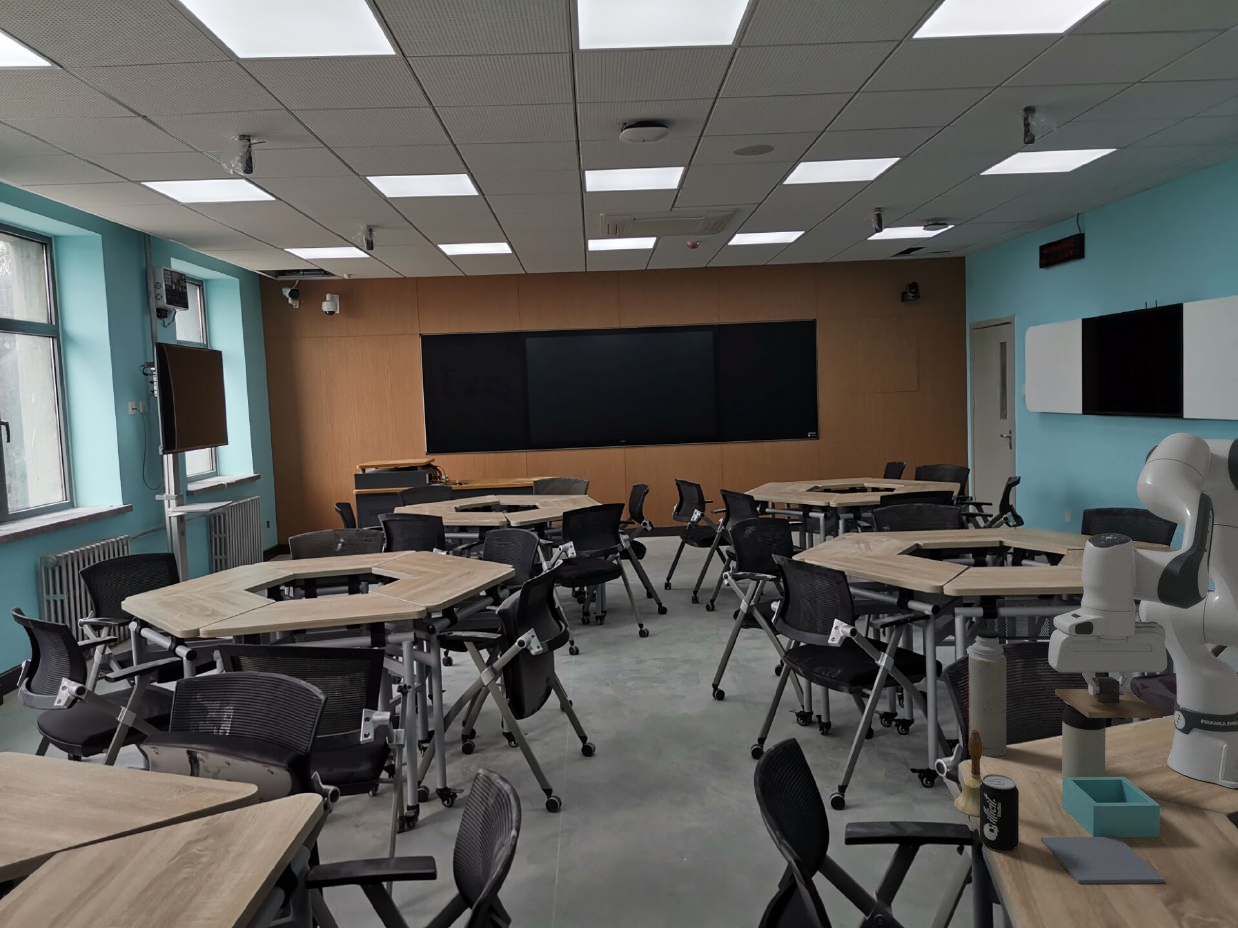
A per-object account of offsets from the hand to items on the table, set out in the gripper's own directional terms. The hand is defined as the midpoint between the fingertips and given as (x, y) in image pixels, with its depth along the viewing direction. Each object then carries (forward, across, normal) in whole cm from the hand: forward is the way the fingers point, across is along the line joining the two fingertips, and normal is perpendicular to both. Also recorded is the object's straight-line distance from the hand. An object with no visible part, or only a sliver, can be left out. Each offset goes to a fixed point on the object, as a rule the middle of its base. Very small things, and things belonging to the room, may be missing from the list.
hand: (1106, 694), depth 159 cm
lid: (+2, 0, 0) cm, 2 cm away
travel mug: (+26, -5, -19) cm, 33 cm away
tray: (+26, +6, +11) cm, 29 cm away
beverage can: (+27, +22, +5) cm, 35 cm away
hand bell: (+26, +20, -9) cm, 35 cm away
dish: (+26, -2, -3) cm, 26 cm away
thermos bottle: (+26, +8, -37) cm, 46 cm away
